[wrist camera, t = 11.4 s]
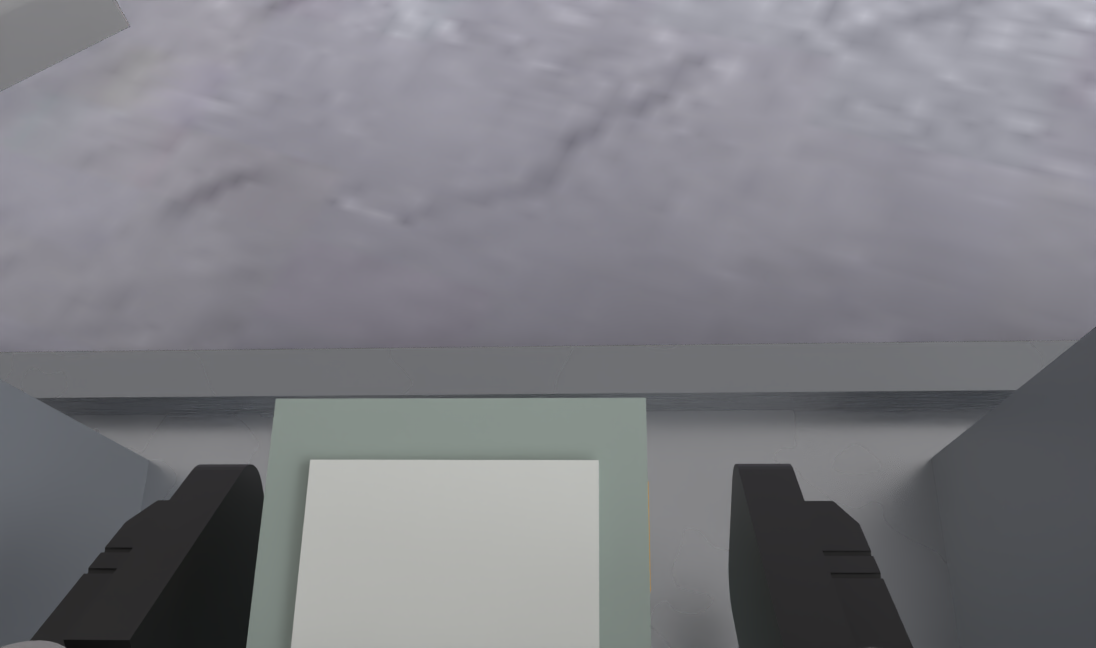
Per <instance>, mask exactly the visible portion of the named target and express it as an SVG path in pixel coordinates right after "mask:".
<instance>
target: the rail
mask: <svg viewBox="0 0 1096 648" xmlns="http://www.w3.org/2000/svg"><path fill="white" fill-rule="evenodd" d="M1077 341H1079V340H1062V341H972V342H882V343H792V344H702V345H612V346H522V347H432V348H342V349H252V350H162V351H72V352H0V379H1V380H3V381H5V382H6V383H8V384H10V385H12V386H14V387H16V388H17V389H19V390H21V391H23V392H25V393H27V394H28V395H30V396H32V397H34V398H36V399H38V400H39V401H41V402H43V403H45V404H47V405H49V406H50V407H52V408H54V409H56V410H58V411H60V412H61V413H63V414H65V415H67V416H69V417H71V418H72V419H74V420H76V421H78V422H80V423H82V424H83V425H85V426H87V427H89V428H91V429H93V430H94V431H96V432H98V433H100V434H102V435H104V436H105V437H107V438H109V439H111V440H113V441H115V442H116V443H118V444H120V445H122V446H124V447H126V448H127V449H129V450H131V451H133V452H135V453H137V454H138V455H140V456H142V457H144V458H146V459H148V460H149V465H148V471H147V477H146V482H145V488H144V493H143V499H142V505H141V510H140V512H141V511H143V510H144V509H145V508H147V507H148V506H150V505H151V504H153V503H154V502H156V501H157V500H170V498H171V497H172V496H173V495H174V493H175V492H176V491H177V489H178V488H179V487H180V485H181V484H182V483H183V481H184V480H185V479H186V477H187V476H188V475H189V473H190V472H191V471H192V470H193V469H194V467H196V466H197V465H200V464H252V465H254V466H255V467H256V468H257V469H258V471H259V474H260V477H261V481H262V487H263V492H264V494H265V485H266V477H267V468H268V460H269V452H270V443H271V435H272V426H273V418H274V409H275V401H276V399H350V398H646V425H647V472H648V481H649V523H650V569H651V592H650V613H651V648H739V645H738V640H737V635H736V630H735V624H734V619H733V614H732V609H731V602H730V592H729V573H728V561H729V538H730V516H731V494H732V476H733V468H734V465H735V464H791V465H792V467H793V469H794V472H795V475H796V478H797V481H798V483H799V486H800V489H801V492H802V495H803V497H804V500H805V501H834V502H835V503H836V504H837V505H839V506H840V507H841V508H842V509H843V510H844V511H845V512H846V513H848V514H849V515H850V516H851V517H852V518H853V519H854V520H856V521H857V522H858V523H859V524H860V526H861V529H862V531H863V533H864V535H865V538H866V540H867V542H868V545H869V547H870V549H871V556H874V558H875V561H876V563H877V565H878V568H879V570H880V572H881V578H883V579H884V581H885V584H886V586H887V588H888V591H889V593H890V595H891V598H892V600H893V602H894V604H895V607H896V609H897V611H898V614H899V616H900V618H901V621H902V623H903V625H904V627H905V630H906V632H907V634H908V637H909V639H910V641H911V644H912V646H913V648H960V647H959V640H958V633H957V627H956V620H955V613H954V606H953V599H952V592H951V586H950V579H949V572H948V565H947V558H946V551H945V545H944V538H943V531H942V524H941V517H940V510H939V504H938V497H937V490H936V483H935V476H934V469H933V463H932V457H933V456H934V455H936V454H937V453H938V452H939V451H941V450H942V449H943V448H945V447H946V446H947V445H948V444H950V443H951V442H952V441H953V440H955V439H956V438H957V437H958V436H960V435H961V434H962V433H963V432H965V431H966V430H967V429H968V428H970V427H971V426H972V425H973V424H975V423H976V422H977V421H978V420H980V419H981V418H982V417H983V416H985V415H986V414H987V413H988V412H990V411H991V410H992V409H993V408H995V407H996V406H997V405H998V404H1000V403H1001V402H1002V401H1003V400H1005V399H1006V398H1007V397H1008V396H1010V395H1011V394H1012V393H1013V392H1015V391H1016V390H1017V389H1019V388H1020V387H1021V386H1022V385H1024V384H1025V383H1026V382H1027V381H1029V380H1030V379H1031V378H1032V377H1034V376H1035V375H1036V374H1037V373H1039V372H1040V371H1041V370H1042V369H1044V368H1045V367H1046V366H1047V365H1049V364H1050V363H1051V362H1052V361H1054V360H1055V359H1056V358H1057V357H1059V356H1060V355H1061V354H1062V353H1064V352H1065V351H1066V350H1067V349H1069V348H1070V347H1071V346H1072V345H1074V344H1075V343H1076V342H1077Z"/></svg>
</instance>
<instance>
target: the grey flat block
mask: <svg viewBox="0 0 1096 648" xmlns="http://www.w3.org/2000/svg"><path fill="white" fill-rule="evenodd" d="M128 27H130V25H129V23H128V21H127V19H126V18H125V16H124V14H123V12H122V11H121V9H120V7H119V5H118V3H117V2H116V0H0V91H2V90H4V89H6V88H8V87H10V86H12V85H14V84H16V83H18V82H20V81H22V80H24V79H26V78H28V77H30V76H32V75H34V74H36V73H38V72H40V71H42V70H44V69H46V68H48V67H50V66H52V65H54V64H56V63H58V62H60V61H62V60H64V59H66V58H68V57H70V56H72V55H74V54H76V53H78V52H80V51H82V50H84V49H86V48H88V47H90V46H92V45H94V44H96V43H98V42H100V41H102V40H104V39H106V38H108V37H110V36H112V35H114V34H116V33H118V32H120V31H122V30H124V29H126V28H128Z"/></svg>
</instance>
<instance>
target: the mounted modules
mask: <svg viewBox="0 0 1096 648" xmlns="http://www.w3.org/2000/svg"><path fill="white" fill-rule="evenodd" d="M932 463H933V469H934V476H935V483H936V490H937V497H938V504H939V510H940V517H941V524H942V531H943V538H944V545H945V551H946V558H947V565H948V572H949V579H950V586H951V592H952V599H953V606H954V613H955V620H956V627H957V633H958V640H959V647H960V648H1096V327H1095V328H1094V329H1092V330H1091V331H1090V332H1089V333H1087V334H1086V335H1085V336H1084V337H1082V338H1081V339H1080V340H1079V341H1077V342H1076V343H1075V344H1074V345H1072V346H1071V347H1070V348H1069V349H1067V350H1066V351H1065V352H1064V353H1062V354H1061V355H1060V356H1059V357H1057V358H1056V359H1055V360H1054V361H1052V362H1051V363H1050V364H1049V365H1047V366H1046V367H1045V368H1044V369H1042V370H1041V371H1040V372H1039V373H1037V374H1036V375H1035V376H1034V377H1032V378H1031V379H1030V380H1029V381H1027V382H1026V383H1025V384H1024V385H1022V386H1021V387H1020V388H1019V389H1017V390H1016V391H1015V392H1013V393H1012V394H1011V395H1010V396H1008V397H1007V398H1006V399H1005V400H1003V401H1002V402H1001V403H1000V404H998V405H997V406H996V407H995V408H993V409H992V410H991V411H990V412H988V413H987V414H986V415H985V416H983V417H982V418H981V419H980V420H978V421H977V422H976V423H975V424H973V425H972V426H971V427H970V428H968V429H967V430H966V431H965V432H963V433H962V434H961V435H960V436H958V437H957V438H956V439H955V440H953V441H952V442H951V443H950V444H948V445H947V446H946V447H945V448H943V449H942V450H941V451H939V452H938V453H937V454H936V455H934V456H933V457H932ZM148 465H149V460H148V459H146V458H144V457H142V456H140V455H138V454H137V453H135V452H133V451H131V450H129V449H127V448H126V447H124V446H122V445H120V444H118V443H116V442H115V441H113V440H111V439H109V438H107V437H105V436H104V435H102V434H100V433H98V432H96V431H94V430H93V429H91V428H89V427H87V426H85V425H83V424H82V423H80V422H78V421H76V420H74V419H72V418H71V417H69V416H67V415H65V414H63V413H61V412H60V411H58V410H56V409H54V408H52V407H50V406H49V405H47V404H45V403H43V402H41V401H39V400H38V399H36V398H34V397H32V396H30V395H28V394H27V393H25V392H23V391H21V390H19V389H17V388H16V387H14V386H12V385H10V384H8V383H6V382H5V381H3V380H1V379H0V647H3V646H6V645H10V644H14V643H18V642H24V641H30V640H31V638H32V637H33V636H34V635H35V633H36V632H37V631H38V630H39V628H40V627H41V626H42V625H43V623H44V622H45V621H46V620H47V618H48V617H49V616H50V615H51V614H52V612H53V611H54V610H55V609H56V607H57V606H58V605H59V604H60V602H61V601H62V600H63V599H64V597H65V596H66V595H67V594H68V592H69V591H70V590H71V589H72V588H73V586H74V585H75V584H76V583H77V581H78V580H79V579H80V578H81V576H82V575H83V574H87V573H88V568H89V566H90V565H91V564H92V563H93V562H94V560H95V559H96V558H97V557H98V555H99V554H100V553H101V552H105V547H106V545H107V544H108V543H109V542H110V540H111V539H112V538H113V537H114V535H115V534H116V533H117V532H118V531H119V529H120V528H121V527H122V526H123V524H124V523H125V522H126V521H128V520H129V519H131V518H132V517H134V516H135V515H137V514H138V513H140V510H141V505H142V499H143V493H144V488H145V482H146V477H147V471H148Z"/></svg>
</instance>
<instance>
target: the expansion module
mask: <svg viewBox="0 0 1096 648" xmlns="http://www.w3.org/2000/svg"><path fill="white" fill-rule="evenodd" d="M650 592H651V569H650V523H649V481H648V472H647V425H646V398H350V399H276V401H275V409H274V418H273V426H272V435H271V443H270V452H269V460H268V468H267V477H266V485H265V494H264V502H263V510H262V519H261V527H260V536H259V544H258V552H257V561H256V569H255V578H254V586H253V595H252V603H251V611H250V620H249V628H248V637H247V645H246V648H651V613H650Z"/></svg>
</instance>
